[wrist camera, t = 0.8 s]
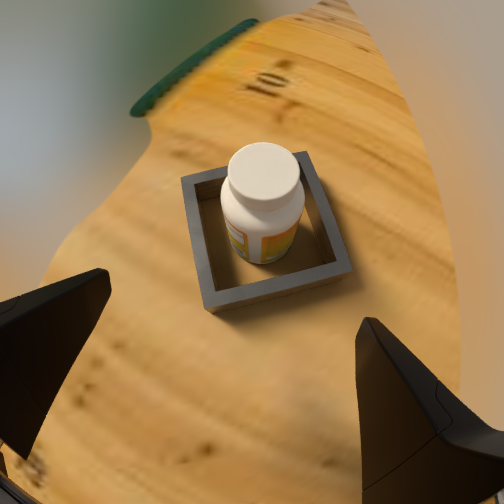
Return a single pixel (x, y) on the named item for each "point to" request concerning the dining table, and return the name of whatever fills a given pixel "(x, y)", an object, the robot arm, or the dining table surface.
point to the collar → (332, 271)
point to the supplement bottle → (262, 201)
